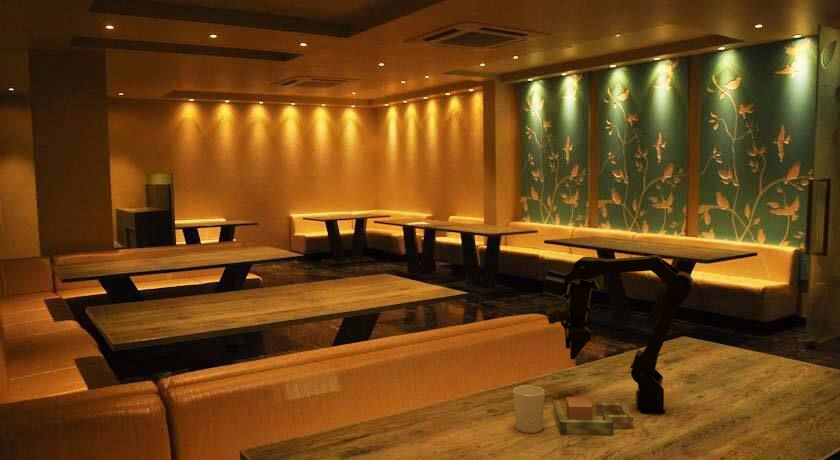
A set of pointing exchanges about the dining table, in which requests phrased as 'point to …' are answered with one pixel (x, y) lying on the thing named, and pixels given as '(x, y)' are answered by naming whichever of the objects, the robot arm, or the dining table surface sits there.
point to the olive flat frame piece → (612, 418)
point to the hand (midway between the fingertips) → (569, 353)
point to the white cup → (529, 408)
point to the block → (578, 408)
